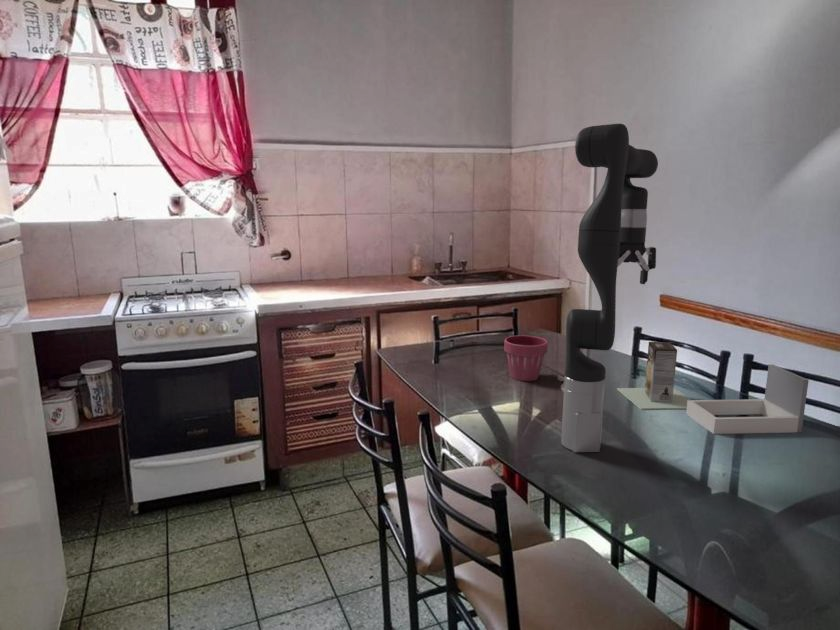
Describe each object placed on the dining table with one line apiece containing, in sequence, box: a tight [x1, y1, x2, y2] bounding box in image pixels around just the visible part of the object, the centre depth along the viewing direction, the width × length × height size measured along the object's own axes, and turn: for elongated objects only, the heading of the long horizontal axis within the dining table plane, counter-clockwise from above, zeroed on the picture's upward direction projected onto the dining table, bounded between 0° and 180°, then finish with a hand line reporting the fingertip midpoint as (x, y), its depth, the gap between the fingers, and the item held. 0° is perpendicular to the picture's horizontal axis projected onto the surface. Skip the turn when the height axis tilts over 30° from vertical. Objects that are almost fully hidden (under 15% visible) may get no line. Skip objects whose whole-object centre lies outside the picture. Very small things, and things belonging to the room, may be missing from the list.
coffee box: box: [644, 341, 678, 403], centre depth 174 cm, size 9×6×16 cm
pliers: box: [556, 374, 565, 393], centre depth 188 cm, size 10×2×15 cm
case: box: [685, 364, 810, 435], centre depth 156 cm, size 14×23×14 cm, turn 93°
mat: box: [616, 387, 692, 411], centre depth 176 cm, size 18×18×1 cm
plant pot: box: [503, 334, 549, 382], centre depth 195 cm, size 14×14×13 cm
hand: (627, 283), depth 166 cm, fingers open, 8 cm apart
